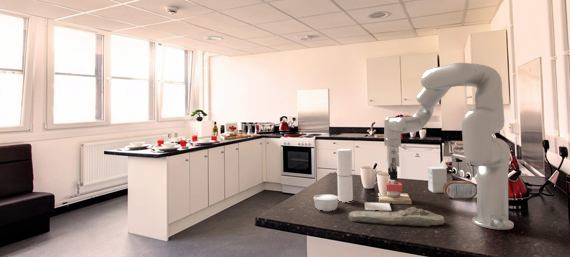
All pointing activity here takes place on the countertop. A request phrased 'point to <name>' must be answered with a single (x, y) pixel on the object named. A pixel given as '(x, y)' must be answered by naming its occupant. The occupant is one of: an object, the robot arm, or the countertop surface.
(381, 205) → the pad
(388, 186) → the red white square box
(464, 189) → the tin
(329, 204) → the ramekin
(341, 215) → the countertop surface
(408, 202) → the stand
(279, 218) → the countertop surface
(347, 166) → the cylindrical container
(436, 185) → the supplement box
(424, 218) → the elongated rock
